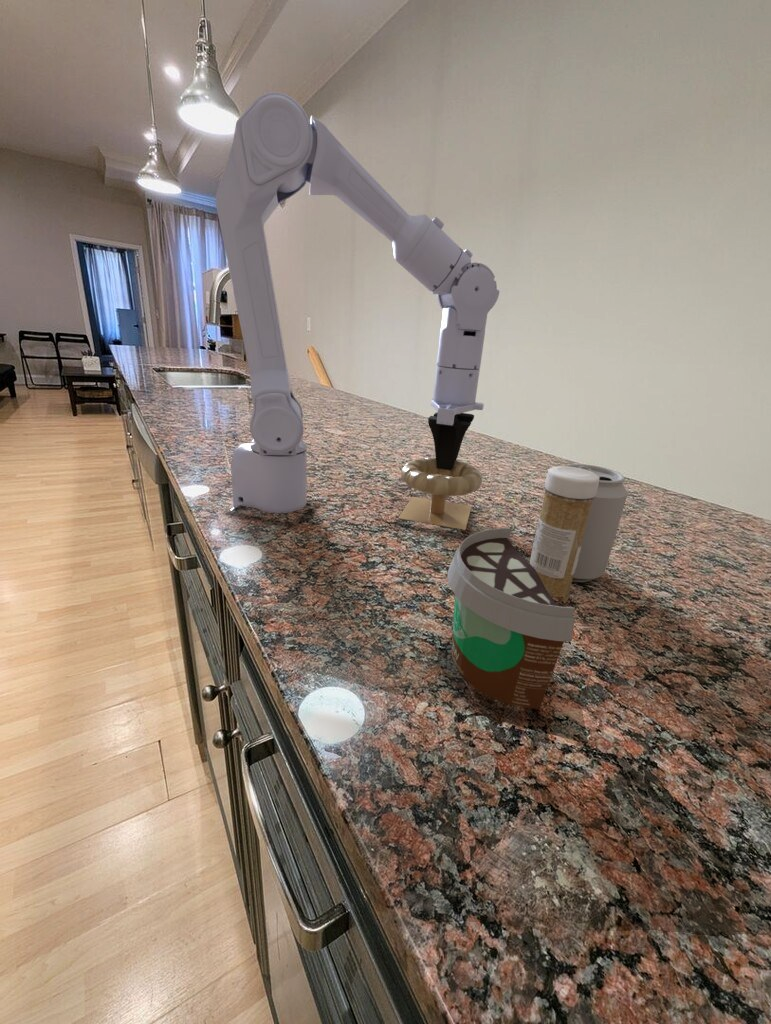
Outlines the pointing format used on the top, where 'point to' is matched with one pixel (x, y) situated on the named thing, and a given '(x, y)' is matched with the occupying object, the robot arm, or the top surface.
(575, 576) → the can
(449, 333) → the robot arm
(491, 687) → the food container
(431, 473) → the ring
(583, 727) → the top surface
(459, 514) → the post
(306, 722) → the top surface
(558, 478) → the spice jar
